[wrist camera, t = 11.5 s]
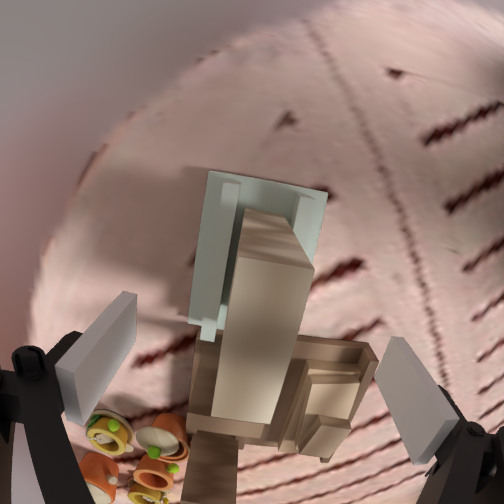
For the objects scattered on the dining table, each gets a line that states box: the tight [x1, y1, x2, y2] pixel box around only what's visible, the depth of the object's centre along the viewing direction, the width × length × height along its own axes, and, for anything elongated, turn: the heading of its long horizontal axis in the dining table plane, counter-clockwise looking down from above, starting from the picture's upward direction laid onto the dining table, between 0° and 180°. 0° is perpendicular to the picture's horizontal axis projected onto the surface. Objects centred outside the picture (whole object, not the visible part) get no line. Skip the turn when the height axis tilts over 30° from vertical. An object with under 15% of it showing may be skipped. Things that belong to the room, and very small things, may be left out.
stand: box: [187, 170, 328, 342], centre depth 27 cm, size 10×14×4 cm
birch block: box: [211, 207, 315, 424], centre depth 21 cm, size 3×9×14 cm, turn 170°
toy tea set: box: [79, 410, 191, 504], centre depth 33 cm, size 26×16×10 cm, turn 156°
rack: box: [180, 329, 379, 504], centre depth 27 cm, size 17×16×12 cm
